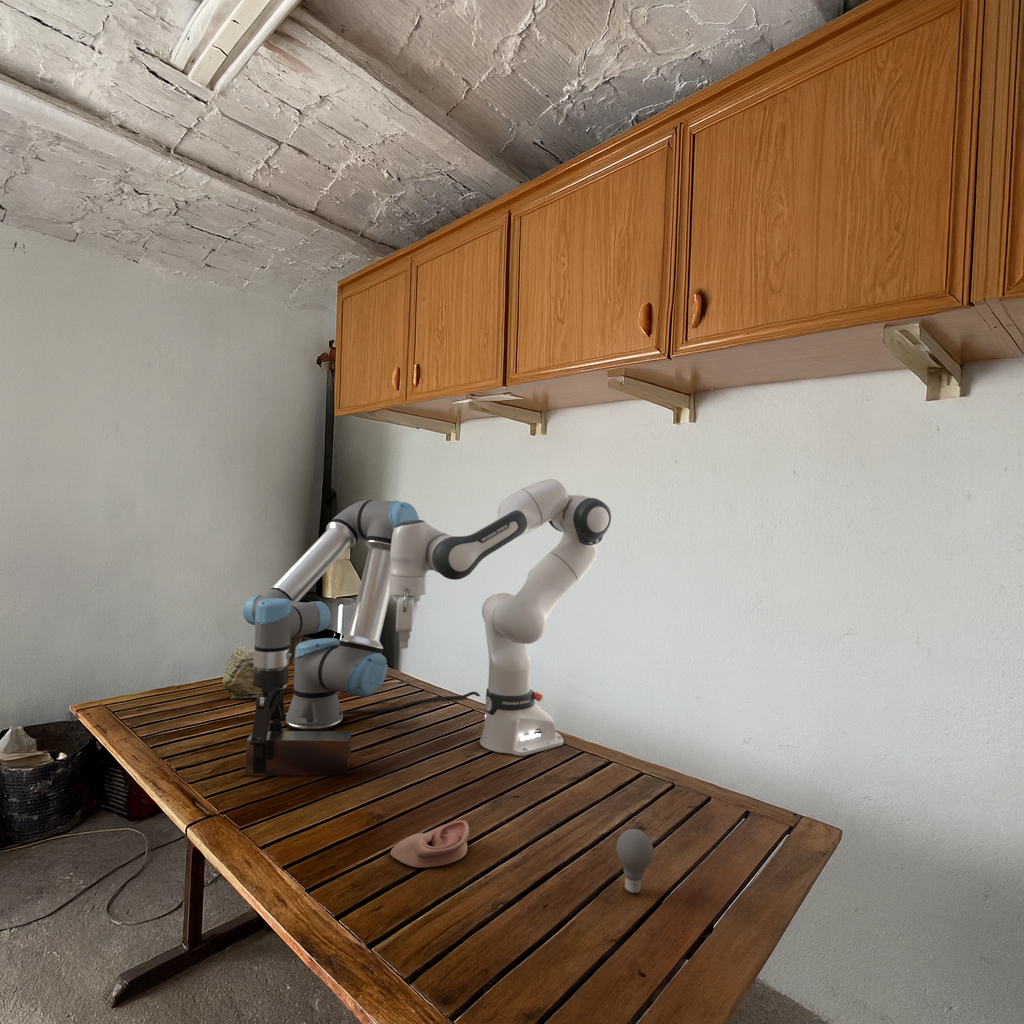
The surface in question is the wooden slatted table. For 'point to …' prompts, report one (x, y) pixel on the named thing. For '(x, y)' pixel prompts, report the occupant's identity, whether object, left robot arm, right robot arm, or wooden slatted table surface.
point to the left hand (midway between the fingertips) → (267, 761)
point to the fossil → (241, 674)
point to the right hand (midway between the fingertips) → (405, 643)
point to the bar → (304, 753)
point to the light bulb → (634, 857)
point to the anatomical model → (434, 846)
